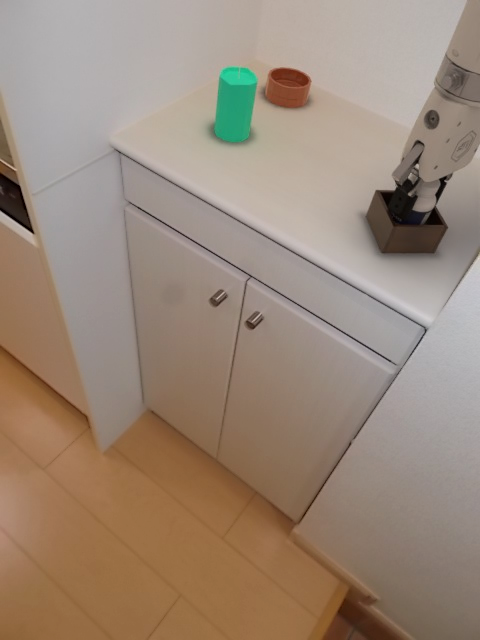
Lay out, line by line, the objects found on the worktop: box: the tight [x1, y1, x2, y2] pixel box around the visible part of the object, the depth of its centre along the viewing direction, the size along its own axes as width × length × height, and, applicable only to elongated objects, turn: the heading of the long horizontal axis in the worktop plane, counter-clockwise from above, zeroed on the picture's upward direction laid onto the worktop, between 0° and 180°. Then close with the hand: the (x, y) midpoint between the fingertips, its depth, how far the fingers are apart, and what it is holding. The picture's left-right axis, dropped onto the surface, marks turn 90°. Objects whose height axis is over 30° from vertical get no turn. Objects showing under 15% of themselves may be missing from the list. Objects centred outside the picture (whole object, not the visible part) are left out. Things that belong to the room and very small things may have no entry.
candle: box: [213, 65, 259, 143], centre depth 84 cm, size 6×6×12 cm
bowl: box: [264, 66, 312, 109], centre depth 98 cm, size 8×8×4 cm
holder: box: [365, 189, 449, 254], centre depth 75 cm, size 8×8×6 cm
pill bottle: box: [389, 173, 440, 225], centre depth 72 cm, size 5×5×10 cm
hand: (411, 206), depth 72 cm, fingers closed on pill bottle, 5 cm apart
